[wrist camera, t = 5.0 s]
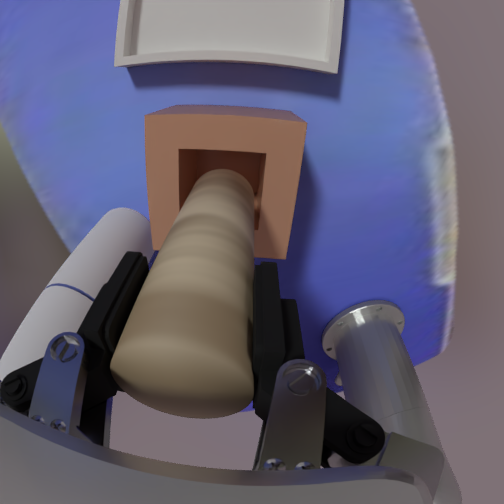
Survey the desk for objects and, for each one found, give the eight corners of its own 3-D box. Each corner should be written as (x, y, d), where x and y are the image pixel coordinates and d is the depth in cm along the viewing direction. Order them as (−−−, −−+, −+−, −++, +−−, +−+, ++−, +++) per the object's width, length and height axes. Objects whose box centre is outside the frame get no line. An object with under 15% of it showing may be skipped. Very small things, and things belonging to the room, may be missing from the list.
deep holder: (277, 212, 28) (285, 259, 21) (176, 205, 27) (153, 249, 21) (290, 111, 22) (307, 122, 16) (176, 104, 22) (144, 115, 15)
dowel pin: (251, 228, 19) (248, 422, 8) (191, 224, 19) (130, 407, 8) (256, 171, 17) (261, 354, 6) (191, 167, 17) (91, 332, 6)
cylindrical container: (165, 225, 29) (67, 479, 8) (146, 272, 32) (72, 484, 11) (107, 197, 27) (-44, 409, 6) (94, 247, 30) (-11, 437, 9)
